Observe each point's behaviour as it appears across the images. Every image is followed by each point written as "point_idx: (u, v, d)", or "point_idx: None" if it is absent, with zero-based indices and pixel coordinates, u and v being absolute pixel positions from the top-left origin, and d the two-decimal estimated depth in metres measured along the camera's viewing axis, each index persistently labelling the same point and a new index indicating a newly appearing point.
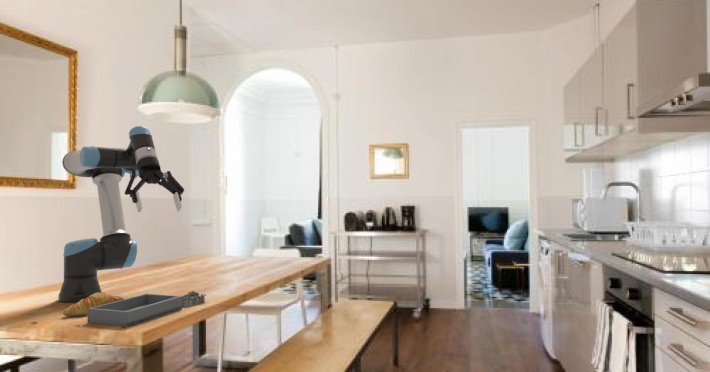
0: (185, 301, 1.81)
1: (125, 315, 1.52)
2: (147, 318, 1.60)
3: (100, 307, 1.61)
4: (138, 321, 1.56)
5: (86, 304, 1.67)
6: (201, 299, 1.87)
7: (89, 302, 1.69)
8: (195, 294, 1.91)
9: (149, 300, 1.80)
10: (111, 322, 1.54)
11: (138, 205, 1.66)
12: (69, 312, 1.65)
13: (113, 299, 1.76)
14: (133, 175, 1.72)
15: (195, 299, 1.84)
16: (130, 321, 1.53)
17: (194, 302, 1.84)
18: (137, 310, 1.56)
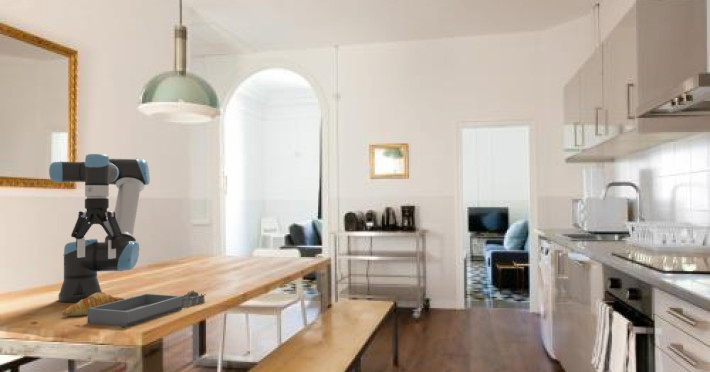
0: (185, 301, 1.81)
1: (125, 315, 1.52)
2: (147, 318, 1.60)
3: (100, 307, 1.61)
4: (138, 321, 1.56)
5: (86, 304, 1.67)
6: (201, 299, 1.87)
7: (89, 302, 1.69)
8: (195, 294, 1.91)
9: (149, 300, 1.80)
10: (111, 322, 1.54)
11: None
12: (69, 312, 1.65)
13: (113, 299, 1.75)
14: (79, 218, 1.75)
15: (195, 299, 1.84)
16: (130, 321, 1.53)
17: (194, 302, 1.84)
18: (137, 310, 1.56)
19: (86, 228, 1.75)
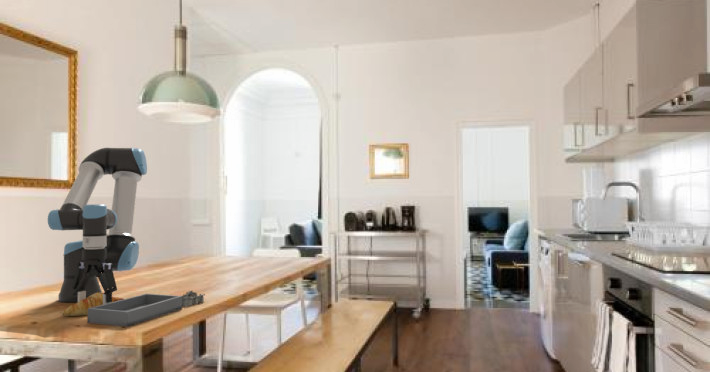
0: (185, 301, 1.81)
1: (125, 315, 1.52)
2: (147, 318, 1.60)
3: (100, 307, 1.61)
4: (138, 321, 1.56)
5: (86, 304, 1.67)
6: (200, 299, 1.88)
7: (89, 302, 1.69)
8: (193, 294, 1.92)
9: (149, 300, 1.80)
10: (111, 322, 1.54)
11: None
12: (69, 312, 1.64)
13: (113, 299, 1.75)
14: (77, 269, 1.74)
15: (194, 299, 1.85)
16: (130, 321, 1.53)
17: (193, 302, 1.85)
18: (137, 310, 1.56)
19: (85, 279, 1.74)
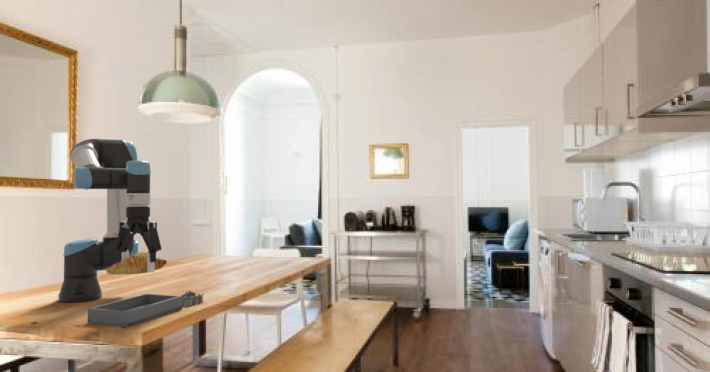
0: (185, 301, 1.81)
1: (125, 315, 1.52)
2: (147, 318, 1.60)
3: (100, 307, 1.61)
4: (138, 321, 1.56)
5: (130, 262, 1.61)
6: (199, 299, 1.88)
7: (132, 261, 1.63)
8: (192, 294, 1.92)
9: (149, 300, 1.80)
10: (111, 322, 1.54)
11: None
12: (113, 270, 1.59)
13: (156, 259, 1.70)
14: (120, 229, 1.68)
15: (194, 299, 1.85)
16: (130, 321, 1.53)
17: (193, 302, 1.85)
18: (137, 310, 1.56)
19: (129, 239, 1.68)
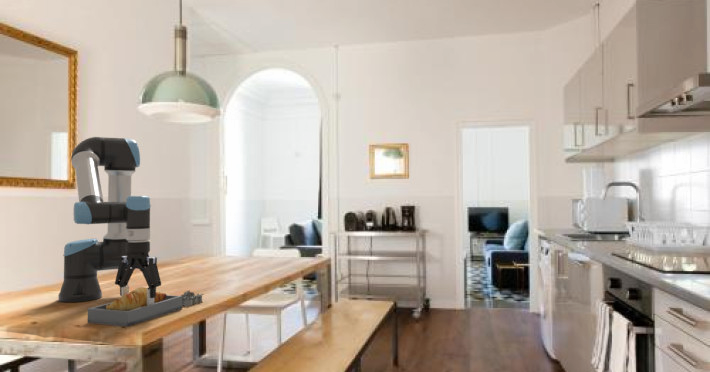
0: (186, 301, 1.81)
1: (125, 315, 1.52)
2: (147, 318, 1.60)
3: (100, 307, 1.61)
4: (138, 321, 1.56)
5: (130, 299, 1.61)
6: (199, 298, 1.88)
7: (132, 297, 1.63)
8: (190, 294, 1.92)
9: None
10: (111, 322, 1.54)
11: None
12: (113, 307, 1.59)
13: (156, 294, 1.69)
14: (120, 264, 1.68)
15: (194, 299, 1.85)
16: (130, 321, 1.53)
17: (193, 302, 1.85)
18: (137, 310, 1.56)
19: (129, 274, 1.68)
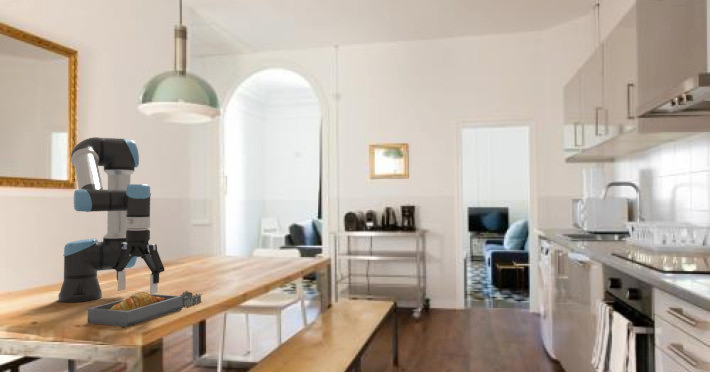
0: (187, 301, 1.81)
1: (125, 315, 1.52)
2: (147, 318, 1.60)
3: (100, 307, 1.61)
4: (138, 321, 1.56)
5: (129, 304, 1.61)
6: (198, 298, 1.89)
7: (132, 302, 1.63)
8: (188, 294, 1.92)
9: None
10: (111, 322, 1.54)
11: None
12: None
13: (155, 299, 1.69)
14: (120, 250, 1.68)
15: (194, 298, 1.85)
16: (130, 321, 1.53)
17: (193, 301, 1.85)
18: (137, 310, 1.56)
19: (127, 260, 1.69)
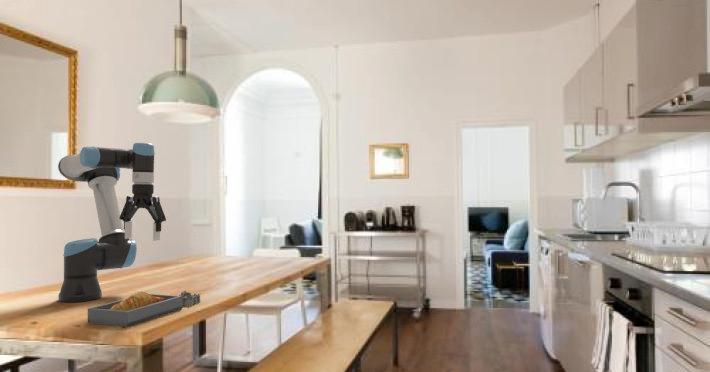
0: (187, 301, 1.82)
1: (125, 315, 1.52)
2: (147, 318, 1.60)
3: (100, 307, 1.61)
4: (138, 321, 1.56)
5: (129, 304, 1.61)
6: (197, 298, 1.89)
7: (132, 302, 1.63)
8: (187, 294, 1.91)
9: None
10: (111, 322, 1.54)
11: None
12: None
13: (155, 299, 1.69)
14: (126, 202, 1.88)
15: (194, 298, 1.86)
16: (130, 321, 1.53)
17: (193, 301, 1.86)
18: (137, 310, 1.56)
19: (133, 211, 1.88)
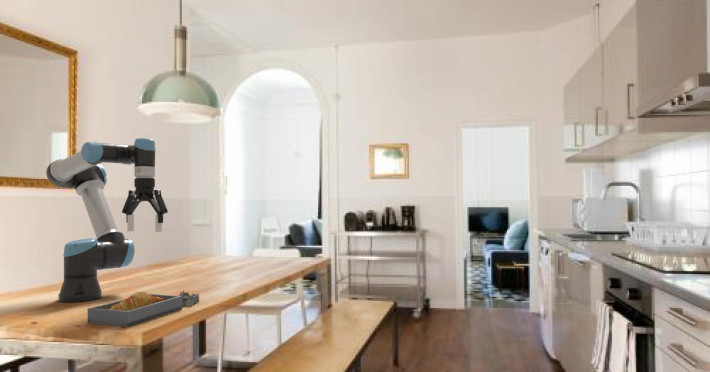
0: (188, 300, 1.82)
1: (125, 315, 1.52)
2: (147, 318, 1.60)
3: (100, 307, 1.61)
4: (138, 321, 1.56)
5: (129, 304, 1.61)
6: (196, 298, 1.89)
7: (131, 302, 1.63)
8: (185, 294, 1.91)
9: None
10: (111, 322, 1.54)
11: None
12: None
13: (155, 299, 1.69)
14: (129, 196, 1.95)
15: (194, 298, 1.86)
16: (130, 321, 1.53)
17: None
18: (137, 310, 1.56)
19: (135, 205, 1.95)
